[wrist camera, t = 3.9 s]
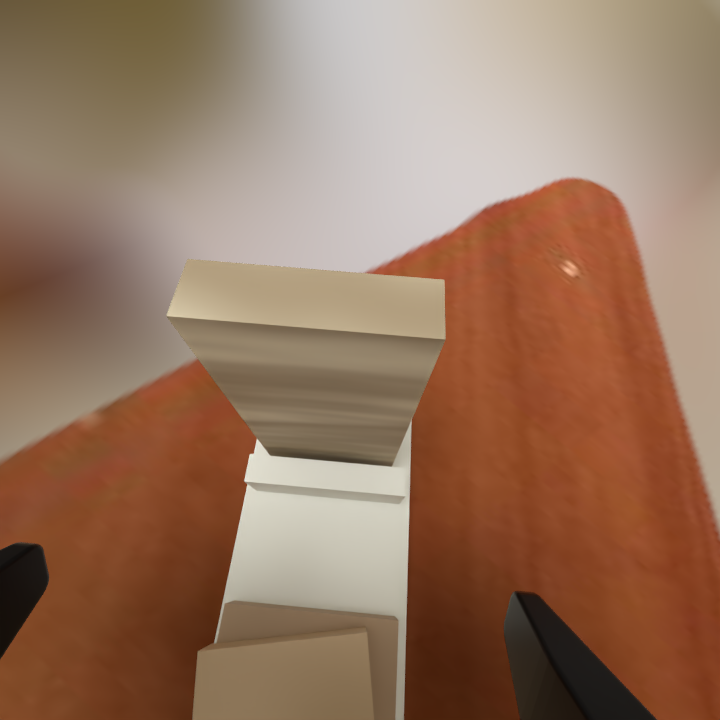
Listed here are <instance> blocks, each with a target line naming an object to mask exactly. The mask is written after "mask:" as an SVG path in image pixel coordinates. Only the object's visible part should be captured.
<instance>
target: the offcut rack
mask: <svg viewBox="0 0 720 720" xmlns="http://www.w3.org/2000/svg"><path fill="white" fill-rule="evenodd" d="M411 423H412V420H411V422H410V425H409V427H408V430H407V432H406V434H405V437H404V439H403V441H402V444H401V446H400V449H399V451H398V453H397V456H396V458H395V460H394V463H393V465H392V467H388V466H377V465H366V464H355V463H344V462H333V461H322V460H311V459H300V458H289V457H278V456H270V455H269V454H268V452H267V451H266V450H265V448H264V447H263V446H262V444H261V443H260V442H259V440H258V439H257V442H256V446H255V451H254V454H250V457H249V461H248V466H247V471H246V475H245V480H244V482H246V483H247V489H246V494H245V499H244V503H243V508H242V513H241V518H240V522H239V527H238V532H237V537H236V541H235V546H234V551H233V556H232V560H231V565H230V570H229V575H228V579H227V584H226V589H225V594H224V598H223V603H222V608H221V612H220V617H219V622H218V627H217V631H216V636H215V641H214V644H210V645H208V646H206V647H205V648H203V649H201V650H199V651H198V655H197V667H196V679H195V692H194V704H193V716H192V720H404V692H405V654H406V615H407V577H408V538H409V500H410V461H411Z"/></svg>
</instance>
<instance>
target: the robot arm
mask: <svg viewBox="0 0 720 720" xmlns="http://www.w3.org/2000/svg"><path fill="white" fill-rule="evenodd" d="M48 582H49V573H48V569H47V564H46V559H45V555H44V550H43V548H42V547H41V546H40V545H39V544H33V543H22V542H20V543H15V544H12V545H10V546H8V547H6V548H3V549H1V550H0V659H1V657H2V656H3V654H4V653H5V651H6V650H7V648H8V647H9V645H10V644H11V642H12V641H13V639H14V638H15V636H16V634H17V633H18V631H19V630H20V628H21V627H22V625H23V624H24V622H25V621H26V619H27V618H28V616H29V615H30V613H31V612H32V610H33V608H34V607H35V605H36V604H37V602H38V601H39V599H40V598H41V596H42V595H43V593H44V591H45V590H46V587H47V585H48ZM504 636H505V642H506V647H507V652H508V658H509V663H510V668H511V673H512V679H513V684H514V689H515V694H516V700H517V705H518V710H519V715H520V720H657V719H656V718H655V717H654V716H653V715H652V714H651V713H650V712H649V711H648V710H647V709H646V708H645V707H644V706H643V705H642V704H641V702H640V701H639V700H638V699H637V698H636V697H635V696H634V695H633V694H632V693H631V692H630V691H629V690H628V689H627V688H626V687H625V686H624V685H623V684H622V682H621V681H620V680H619V679H618V678H617V677H616V676H615V675H614V674H613V673H612V672H611V671H610V670H609V669H608V668H607V667H606V666H605V665H604V664H603V663H602V661H601V660H600V659H599V658H598V657H597V656H596V655H595V654H594V653H593V652H592V651H591V650H590V649H589V648H588V647H587V646H586V645H585V644H584V643H583V641H582V640H581V639H580V638H579V637H578V636H577V635H576V634H575V633H574V632H573V631H572V630H571V629H570V628H569V627H568V626H567V625H566V624H565V623H564V622H563V620H562V619H561V618H560V617H559V616H558V615H557V614H556V613H555V612H554V611H553V610H552V609H551V608H550V607H549V606H548V605H547V604H546V603H545V602H544V600H543V599H542V598H541V597H540V596H538V595H537V594H536V593H533V592H523V591H514V592H513V593H512V595H511V598H510V602H509V606H508V610H507V614H506V618H505V622H504Z"/></svg>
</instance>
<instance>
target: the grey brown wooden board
mask: <svg viewBox="0 0 720 720" xmlns="http://www.w3.org/2000/svg"><path fill="white" fill-rule="evenodd" d="M166 316H167V318H168V319H169V320H170V322H171V323H172V324H173V326H174V327H175V329H176V330H177V331H178V333H179V334H180V335H181V337H182V338H183V339H184V341H185V342H186V343H187V345H188V346H189V347H190V349H191V350H192V351H193V353H194V354H195V355H196V357H197V358H198V359H199V361H200V362H201V364H202V365H203V366H204V368H205V369H206V370H207V372H208V373H209V374H210V376H211V377H212V378H213V380H214V381H215V382H216V384H217V385H218V386H219V388H220V389H221V390H222V392H223V393H224V394H225V396H226V397H227V398H228V400H229V401H230V403H231V404H232V405H233V407H234V408H235V409H236V411H237V412H238V413H239V415H240V416H241V417H242V419H243V420H244V421H245V423H246V424H247V425H248V427H249V428H250V429H251V431H252V432H253V433H254V435H255V436H256V437H257V439H258V440H259V442H260V443H261V444H262V446H263V447H264V448H265V450H266V451H267V452H268V454H269V455H270V456H278V457H289V458H300V459H311V460H322V461H333V462H344V463H355V464H366V465H377V466H388V467H392V465H393V463H394V460H395V458H396V456H397V453H398V451H399V449H400V446H401V444H402V441H403V439H404V437H405V434H406V432H407V430H408V427H409V425H410V422H411V420H412V418H413V415H414V413H415V411H416V408H417V406H418V403H419V401H420V399H421V396H422V394H423V392H424V389H425V387H426V384H427V382H428V380H429V377H430V375H431V373H432V370H433V368H434V365H435V363H436V361H437V358H438V356H439V354H440V351H441V349H442V346H443V344H444V342H445V285H444V280H440V279H428V278H415V277H403V276H391V275H378V274H366V273H353V272H341V271H327V270H316V269H303V268H291V267H279V266H267V265H254V264H242V263H229V262H217V261H205V260H193V259H188V260H187V262H186V265H185V267H184V270H183V273H182V275H181V278H180V281H179V283H178V286H177V289H176V291H175V294H174V297H173V299H172V302H171V305H170V307H169V310H168V313H167V315H166Z"/></svg>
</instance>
